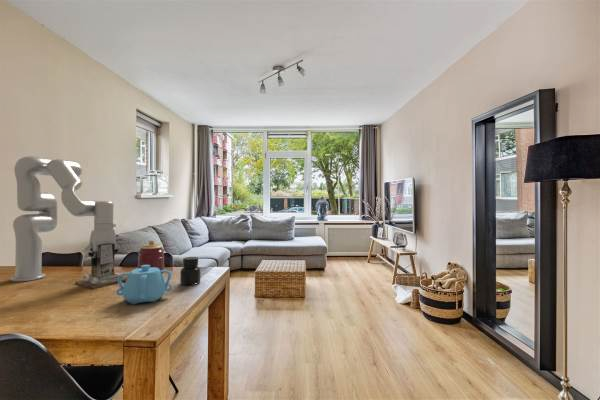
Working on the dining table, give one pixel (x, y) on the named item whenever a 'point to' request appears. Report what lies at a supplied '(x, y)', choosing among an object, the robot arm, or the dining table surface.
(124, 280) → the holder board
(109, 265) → the coffee box
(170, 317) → the dining table surface
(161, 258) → the canister
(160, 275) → the decorative pot
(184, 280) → the ink bottle
